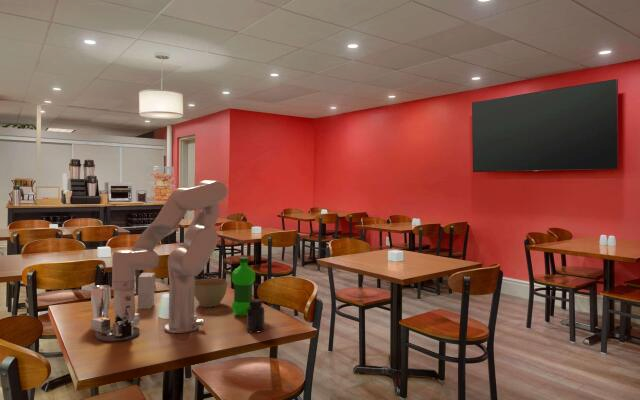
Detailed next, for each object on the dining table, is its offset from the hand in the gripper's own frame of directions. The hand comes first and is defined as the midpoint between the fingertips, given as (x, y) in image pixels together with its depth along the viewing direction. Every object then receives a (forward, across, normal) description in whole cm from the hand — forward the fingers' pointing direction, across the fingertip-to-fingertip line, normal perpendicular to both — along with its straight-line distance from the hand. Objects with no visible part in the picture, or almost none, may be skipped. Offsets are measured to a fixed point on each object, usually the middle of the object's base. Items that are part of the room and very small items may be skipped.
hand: (123, 333), depth 165 cm
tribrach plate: (+2, +6, 0) cm, 6 cm away
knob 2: (+1, 0, 0) cm, 1 cm away
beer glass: (+3, +23, +1) cm, 23 cm away
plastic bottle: (+2, +2, -51) cm, 51 cm away
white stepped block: (+1, +9, -5) cm, 10 cm away
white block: (+1, +9, +5) cm, 10 cm away
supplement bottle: (+3, -20, -44) cm, 48 cm away
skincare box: (+3, +38, -22) cm, 44 cm away
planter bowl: (+3, +24, -47) cm, 53 cm away
